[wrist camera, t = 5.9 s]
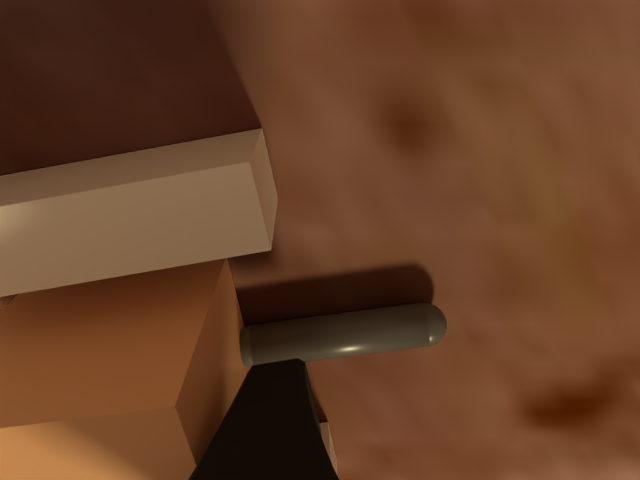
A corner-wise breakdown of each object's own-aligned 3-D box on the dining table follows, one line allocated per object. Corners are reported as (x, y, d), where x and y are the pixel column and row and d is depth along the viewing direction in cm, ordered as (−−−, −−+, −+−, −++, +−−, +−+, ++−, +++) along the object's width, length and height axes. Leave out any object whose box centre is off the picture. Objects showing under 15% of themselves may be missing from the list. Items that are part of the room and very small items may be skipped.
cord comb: (365, 589, 16) (376, 682, 14) (48, 635, 16) (8, 732, 14) (155, -349, 6) (73, -561, 4) (-606, -179, 7) (-1066, -283, 4)
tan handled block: (442, 379, 12) (513, 561, 8) (97, 422, 12) (-6, 619, 8) (437, 226, 10) (528, 361, 6) (31, 281, 10) (-146, 446, 6)
